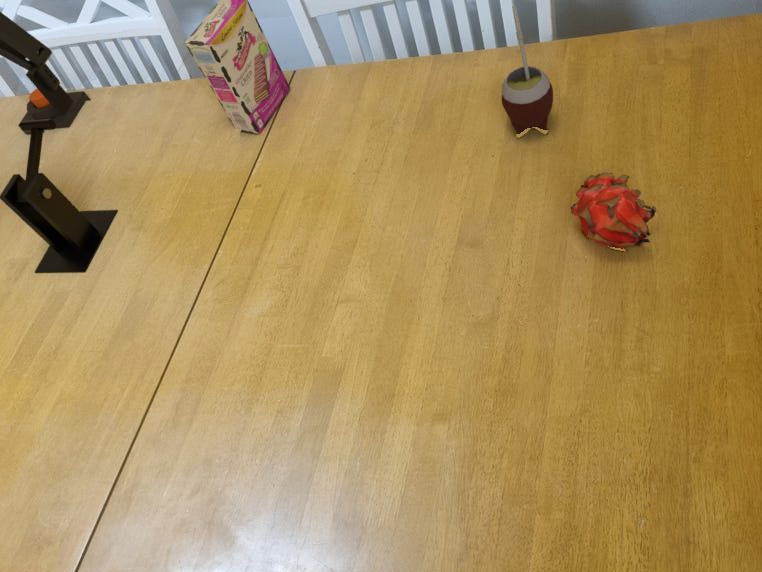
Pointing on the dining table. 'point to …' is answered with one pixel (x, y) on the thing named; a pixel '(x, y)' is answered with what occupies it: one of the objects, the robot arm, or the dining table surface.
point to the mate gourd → (526, 92)
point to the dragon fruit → (612, 212)
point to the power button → (38, 99)
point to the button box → (51, 113)
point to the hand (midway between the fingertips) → (26, 112)
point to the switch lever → (33, 153)
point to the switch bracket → (59, 225)
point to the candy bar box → (239, 64)
